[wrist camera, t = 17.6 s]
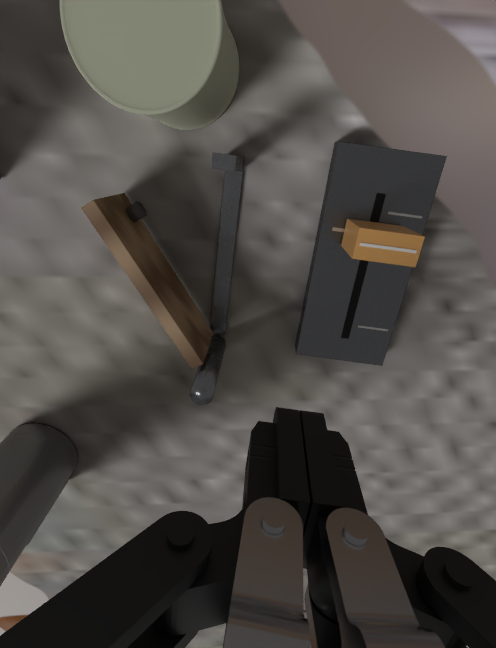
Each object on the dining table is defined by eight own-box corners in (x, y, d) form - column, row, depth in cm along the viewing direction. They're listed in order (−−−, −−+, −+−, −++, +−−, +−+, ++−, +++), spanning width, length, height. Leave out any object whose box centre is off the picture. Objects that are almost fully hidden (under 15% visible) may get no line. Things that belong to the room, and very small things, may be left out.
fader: (396, 253, 34) (415, 267, 29) (341, 245, 34) (352, 259, 29) (403, 226, 33) (425, 236, 28) (347, 218, 33) (359, 227, 28)
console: (377, 356, 41) (382, 365, 39) (295, 345, 41) (296, 354, 39) (436, 156, 33) (446, 156, 31) (334, 142, 33) (338, 141, 31)
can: (249, 13, 30) (238, -74, 19) (228, 140, 33) (207, 130, 22) (134, -15, 29) (52, -121, 18) (125, 117, 33) (53, 95, 22)
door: (223, 327, 40) (214, 358, 34) (203, 337, 40) (191, 369, 34) (134, 186, 34) (105, 191, 28) (114, 199, 35) (81, 207, 29)
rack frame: (224, 352, 42) (212, 406, 33) (206, 349, 42) (189, 403, 33) (246, 157, 34) (238, 155, 25) (224, 154, 34) (207, 151, 25)
